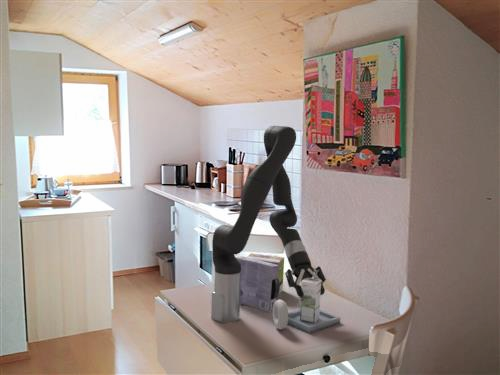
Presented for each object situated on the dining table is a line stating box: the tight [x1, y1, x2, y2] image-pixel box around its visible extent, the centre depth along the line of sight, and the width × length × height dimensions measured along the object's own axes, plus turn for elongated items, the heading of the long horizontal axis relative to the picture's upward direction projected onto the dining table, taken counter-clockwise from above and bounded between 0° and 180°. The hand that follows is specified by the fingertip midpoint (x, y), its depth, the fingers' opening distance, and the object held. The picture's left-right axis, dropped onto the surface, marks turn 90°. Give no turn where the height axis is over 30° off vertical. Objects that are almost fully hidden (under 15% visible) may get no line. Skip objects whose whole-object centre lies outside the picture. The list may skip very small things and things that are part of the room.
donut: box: [272, 299, 289, 331], centre depth 175 cm, size 10×4×10 cm, turn 13°
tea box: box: [246, 252, 285, 296], centre depth 214 cm, size 15×10×15 cm, turn 73°
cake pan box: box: [235, 255, 280, 313], centre depth 196 cm, size 19×5×18 cm, turn 54°
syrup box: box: [299, 277, 321, 323], centre depth 181 cm, size 6×6×14 cm
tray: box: [287, 309, 341, 334], centre depth 182 cm, size 16×14×2 cm
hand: (312, 295), depth 180 cm, fingers open, 8 cm apart
